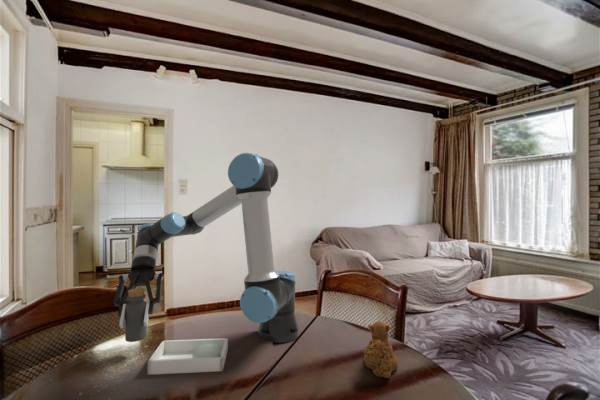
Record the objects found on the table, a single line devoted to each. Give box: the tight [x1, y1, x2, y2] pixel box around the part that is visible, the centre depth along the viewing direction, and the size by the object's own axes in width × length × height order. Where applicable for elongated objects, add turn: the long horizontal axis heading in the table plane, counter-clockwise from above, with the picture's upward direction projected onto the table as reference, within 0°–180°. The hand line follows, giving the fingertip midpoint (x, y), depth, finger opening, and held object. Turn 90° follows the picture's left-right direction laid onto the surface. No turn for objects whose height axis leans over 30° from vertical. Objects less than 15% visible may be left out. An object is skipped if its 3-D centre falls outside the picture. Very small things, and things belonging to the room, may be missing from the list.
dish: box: [192, 344, 221, 358], centre depth 92 cm, size 8×8×3 cm
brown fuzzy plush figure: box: [363, 320, 399, 379], centre depth 90 cm, size 10×14×13 cm
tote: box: [146, 337, 229, 376], centre depth 91 cm, size 20×13×4 cm, turn 97°
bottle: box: [124, 287, 148, 343], centre depth 96 cm, size 6×6×15 cm
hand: (133, 324), depth 93 cm, fingers closed on bottle, 6 cm apart
